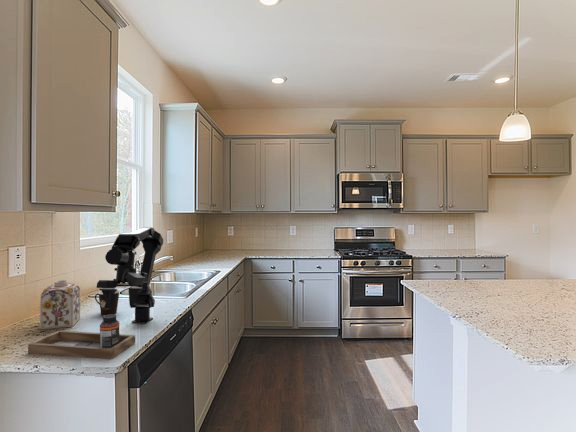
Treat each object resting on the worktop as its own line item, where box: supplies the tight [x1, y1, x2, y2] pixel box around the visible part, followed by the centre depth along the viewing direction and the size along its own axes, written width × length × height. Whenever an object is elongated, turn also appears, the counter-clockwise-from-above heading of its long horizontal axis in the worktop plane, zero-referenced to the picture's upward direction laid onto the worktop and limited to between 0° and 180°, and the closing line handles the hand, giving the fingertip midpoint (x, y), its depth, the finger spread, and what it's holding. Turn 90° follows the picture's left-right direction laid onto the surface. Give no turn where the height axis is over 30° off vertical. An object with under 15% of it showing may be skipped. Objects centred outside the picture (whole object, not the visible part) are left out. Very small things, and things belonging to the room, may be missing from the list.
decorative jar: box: [39, 279, 81, 330], centre depth 140 cm, size 12×12×18 cm
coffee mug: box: [94, 289, 120, 316], centre depth 155 cm, size 12×9×10 cm
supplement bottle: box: [99, 314, 120, 348], centre depth 115 cm, size 6×6×11 cm
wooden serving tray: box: [27, 330, 136, 360], centre depth 116 cm, size 13×30×3 cm, turn 83°
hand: (121, 307), depth 126 cm, fingers open, 9 cm apart
